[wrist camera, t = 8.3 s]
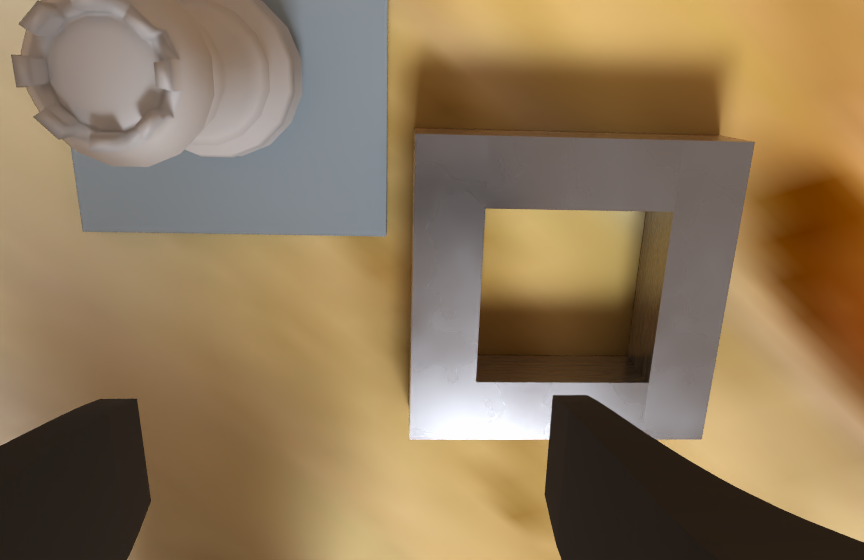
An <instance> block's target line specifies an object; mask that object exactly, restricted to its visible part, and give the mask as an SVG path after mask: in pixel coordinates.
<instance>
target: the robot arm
mask: <svg viewBox="0 0 864 560" xmlns="http://www.w3.org/2000/svg"><path fill="white" fill-rule="evenodd" d="M545 498H546V502H547V507H548V511H549V516H550V520H551V525H552V529H553V533H554V537H555V541H556V545H557V548H558V551H559V553H560V556H561V559H562V560H864V542H861V541H858V540H855V539H853V538H850V537H848V536H845V535H843V534H840V533H838V532H835V531H833V530H830V529H828V528H825V527H823V526H820V525H818V524H815V523H812V522H810V521H807V520H805V519H803V518H800V517H798V516H796V515H794V514H791V513H789V512H787V511H784V510H782V509H780V508H778V507H776V506H774V505H772V504H770V503H768V502H766V501H763V500H761V499H759V498H757V497H755V496H753V495H751V494H749V493H747V492H745V491H743V490H741V489H739V488H737V487H735V486H733V485H731V484H729V483H727V482H726V481H724V480H722V479H720V478H718V477H717V476H715V475H713V474H711V473H710V472H708V471H706V470H704V469H703V468H701V467H699V466H698V465H696V464H694V463H692V462H691V461H689V460H687V459H686V458H684V457H682V456H681V455H679V454H678V453H676V452H674V451H673V450H671V449H670V448H668V447H666V446H665V445H663V444H662V443H660V442H659V441H657V440H656V439H654V438H653V437H651V436H650V435H648V434H646V433H645V432H644V431H642V430H641V429H639V428H638V427H636V426H635V425H633V424H632V423H630V422H629V421H627V420H626V419H624V418H623V417H621V416H620V415H618V414H617V413H615V412H614V411H612V410H611V409H609V408H608V407H606V406H605V405H603V404H602V403H600V402H599V401H597V400H595V399H594V398H592V397H590V396H588V395H553V398H552V411H551V423H550V436H549V448H548V460H547V473H546V485H545ZM150 502H151V498H150V491H149V484H148V476H147V469H146V462H145V454H144V447H143V440H142V433H141V425H140V418H139V411H138V404H137V399H99V400H97V401H94V402H91V403H88V404H86V405H83V406H81V407H79V408H77V409H74V410H72V411H70V412H68V413H66V414H64V415H62V416H60V417H58V418H55V419H53V420H51V421H49V422H47V423H45V424H43V425H41V426H39V427H37V428H35V429H33V430H31V431H29V432H27V433H25V434H23V435H21V436H19V437H17V438H15V439H13V440H11V441H9V442H7V443H5V444H3V445H1V446H0V560H127V558H128V556H129V555H130V552H131V550H132V548H133V545H134V543H135V540H136V538H137V536H138V533H139V531H140V528H141V526H142V523H143V520H144V518H145V515H146V512H147V510H148V507H149V505H150Z"/></svg>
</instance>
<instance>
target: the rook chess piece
mask: <svg viewBox="0 0 864 560" xmlns="http://www.w3.org/2000/svg"><path fill="white" fill-rule="evenodd" d="M19 25H21V26H22V27H24V28H25V29H26V32H25V36H24V41H23V45H22V49H21V55H11V57H12V63H13V69H14V75H15V81H16V87H27V91H28V93H29V94H30V96H31V98H32V100H33V102H34V103H35V105H36V107H37V109H38V110H39V113H38V114H37V115H35V116H34V118H35V119H36V120H37V121H38V122H40V123H41V124H42V125H43V126H44V127H45V128H46V129H48V130H49V131H50V132H51V133H52V134H53V135H54V136H55V137H57V138H58V139H63V140H64V141H65V142H66V143H67V144H69V145H70V146H71V147H72V148H73V149H74V150H75V151H76V152H78V153H81V154H83V155H86V156H88V157H91V158H93V159H96V160H98V161H101V162H103V163H106V164H108V165H110V166H126V167H149V166H152V165H154V164H157V163H159V162H162V161H164V160H167V159H169V158H172V157H174V156H176V155H179V154H181V153H182V151H183V150H187V151H189V152H192V153H194V154H196V155H199V156H201V157H236V156H244V155H246V154H249V153H251V152H254V151H256V150H259V149H261V148H264V147H266V146H269V145H271V144H272V143H273V141H274V140H275V139H276V138H277V137H278V136H279V135H280V134H281V133H282V132H283V131H284V130H285V129H286V128H287V127H288V126H289V125H290V124H291V123H292V120H293V118H294V115H295V112H296V109H297V107H298V104H299V101H300V99H301V96H302V93H303V92H302V62H301V58H300V55H299V53H298V50H297V48H296V46H295V43H294V41H293V39H292V36H291V34H290V32H289V29H288V27H287V26H286V25H285V24H284V23H283V22H282V21H281V20H280V19H279V18H278V17H277V16H276V15H275V14H274V13H273V11H272V10H271V9H270V8H269V7H268V6H267V5H266V4H265V3H264V2H263V1H261V0H41V1H37V2H36V4H35V5H34V6H33V7H32V8H31V10H30V11H29V12H28V13H27V14H26V16H25V17H24V18H23V19H22V21H21V22H20V23H19Z"/></svg>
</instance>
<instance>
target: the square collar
mask: <svg viewBox="0 0 864 560" xmlns="http://www.w3.org/2000/svg"><path fill="white" fill-rule="evenodd" d="M754 144H755V142H752V141H747V140H741V139H736V138H731V137H725V136H717V135H677V134H637V133H597V132H557V131H517V130H477V129H437V128H414V156H413V210H412V263H411V317H410V370H409V439H549V436H550V423H551V411H552V398H553V395H588V396H590V397H592V398H594V399H595V400H597V401H599V402H600V403H602V404H603V405H605V406H606V407H608V408H609V409H611V410H612V411H614V412H615V413H617V414H618V415H620V416H621V417H623V418H624V419H626V420H627V421H629V422H630V423H632V424H633V425H635V426H636V427H638V428H639V429H641V430H642V431H644V432H645V433H646V434H648V435H650V436H651V437H653V438H654V439H702V434H703V429H704V423H705V418H706V412H707V406H708V401H709V395H710V390H711V384H712V378H713V373H714V367H715V362H716V356H717V351H718V345H719V339H720V334H721V328H722V323H723V317H724V311H725V306H726V300H727V295H728V289H729V283H730V278H731V272H732V267H733V261H734V255H735V250H736V244H737V239H738V233H739V228H740V222H741V216H742V211H743V205H744V200H745V194H746V188H747V183H748V177H749V172H750V166H751V160H752V155H753V149H754ZM485 208H493V209H547V210H601V211H646V217H645V225H644V232H643V240H642V247H641V255H640V263H639V270H638V278H637V285H636V293H635V300H634V308H633V315H632V323H631V331H630V338H629V346H628V353H627V356H546V355H477V353H478V334H479V316H480V297H481V279H482V260H483V242H484V223H485Z"/></svg>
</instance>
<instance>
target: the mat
mask: <svg viewBox="0 0 864 560" xmlns="http://www.w3.org/2000/svg"><path fill="white" fill-rule="evenodd" d="M261 1H263V2H264V3H265V4H266V5H267V6H268V7H269V8H270V9H271V10H272V11H273V13H274V14H275V15H276V16H277V17H278V18H279V19H280V20H281V21H282V22H283V23H284V24H285V25H286V26H287V27H288V29H289V32H290V34H291V36H292V39H293V41H294V43H295V46H296V48H297V50H298V53H299V55H300V58H301V62H302V92H303V93H302V96H301V99H300V101H299V104H298V107H297V109H296V112H295V115H294V118H293V120H292V123H291V124H290V125H289V126H288V127H287V128H286V129H285V130H284V131H283V132H282V133H281V134H280V135H279V136H278V137H277V138H276V139H275V140H274V141H273V143H272V144H271V145H269V146H266V147H264V148H261V149H259V150H256V151H254V152H251V153H249V154H246V155H244V156H236V157H201V156H199V155H196V154H194V153H192V152H189V151H187V150H183V151H182V153H181V154H179V155H176V156H174V157H172V158H169V159H167V160H164V161H162V162H159V163H157V164H154V165H152V166H149V167H126V166H110V165H108V164H106V163H103V162H101V161H98V160H96V159H93V158H91V157H88V156H86V155H83V154H81V153H78V152H76V151H75V150H74V149H73V148H72V147H71V151H72V158H73V165H74V172H75V179H76V186H77V193H78V200H79V207H80V214H81V221H82V228H83V232H144V233H206V234H269V235H331V236H386V233H387V85H388V0H261Z"/></svg>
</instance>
